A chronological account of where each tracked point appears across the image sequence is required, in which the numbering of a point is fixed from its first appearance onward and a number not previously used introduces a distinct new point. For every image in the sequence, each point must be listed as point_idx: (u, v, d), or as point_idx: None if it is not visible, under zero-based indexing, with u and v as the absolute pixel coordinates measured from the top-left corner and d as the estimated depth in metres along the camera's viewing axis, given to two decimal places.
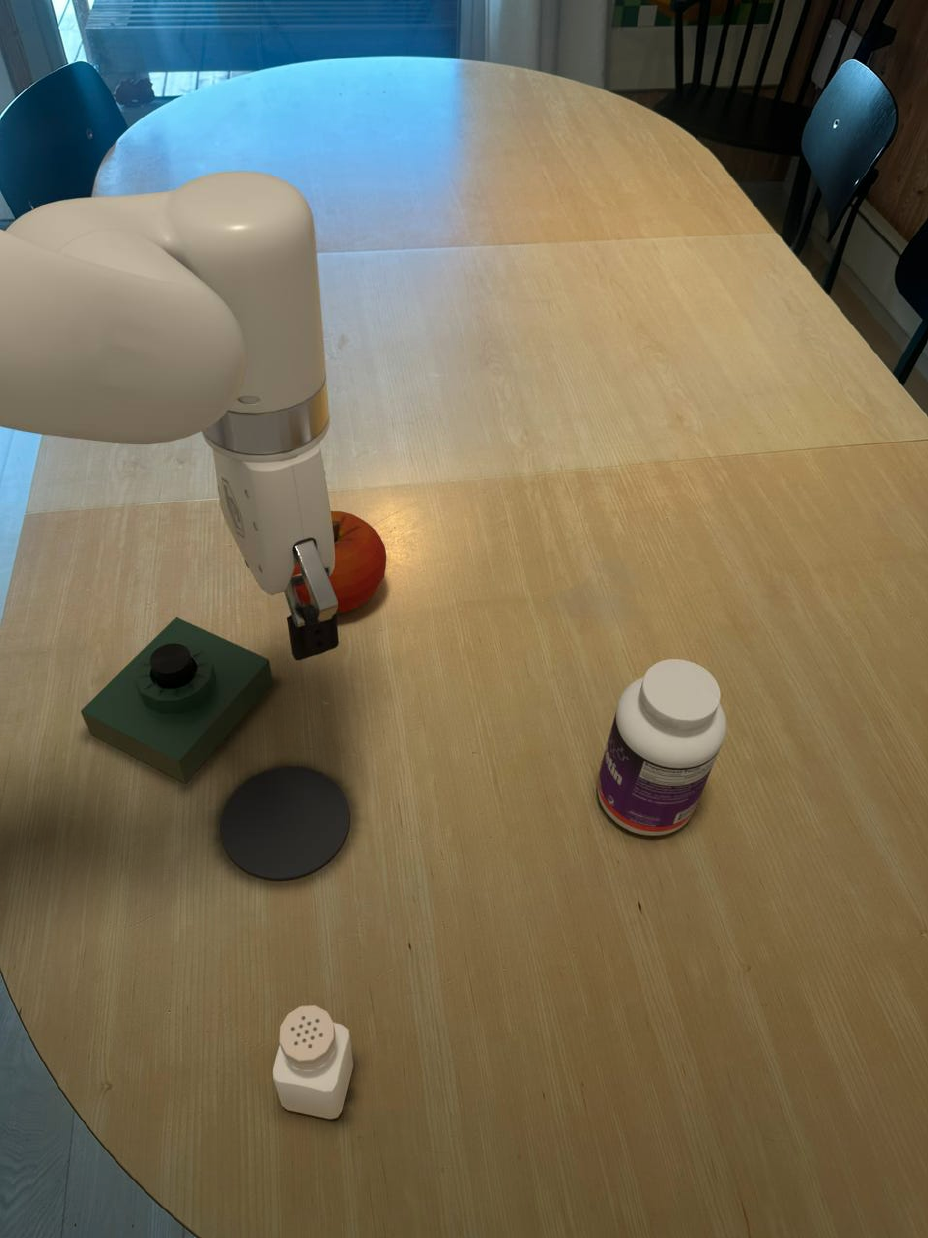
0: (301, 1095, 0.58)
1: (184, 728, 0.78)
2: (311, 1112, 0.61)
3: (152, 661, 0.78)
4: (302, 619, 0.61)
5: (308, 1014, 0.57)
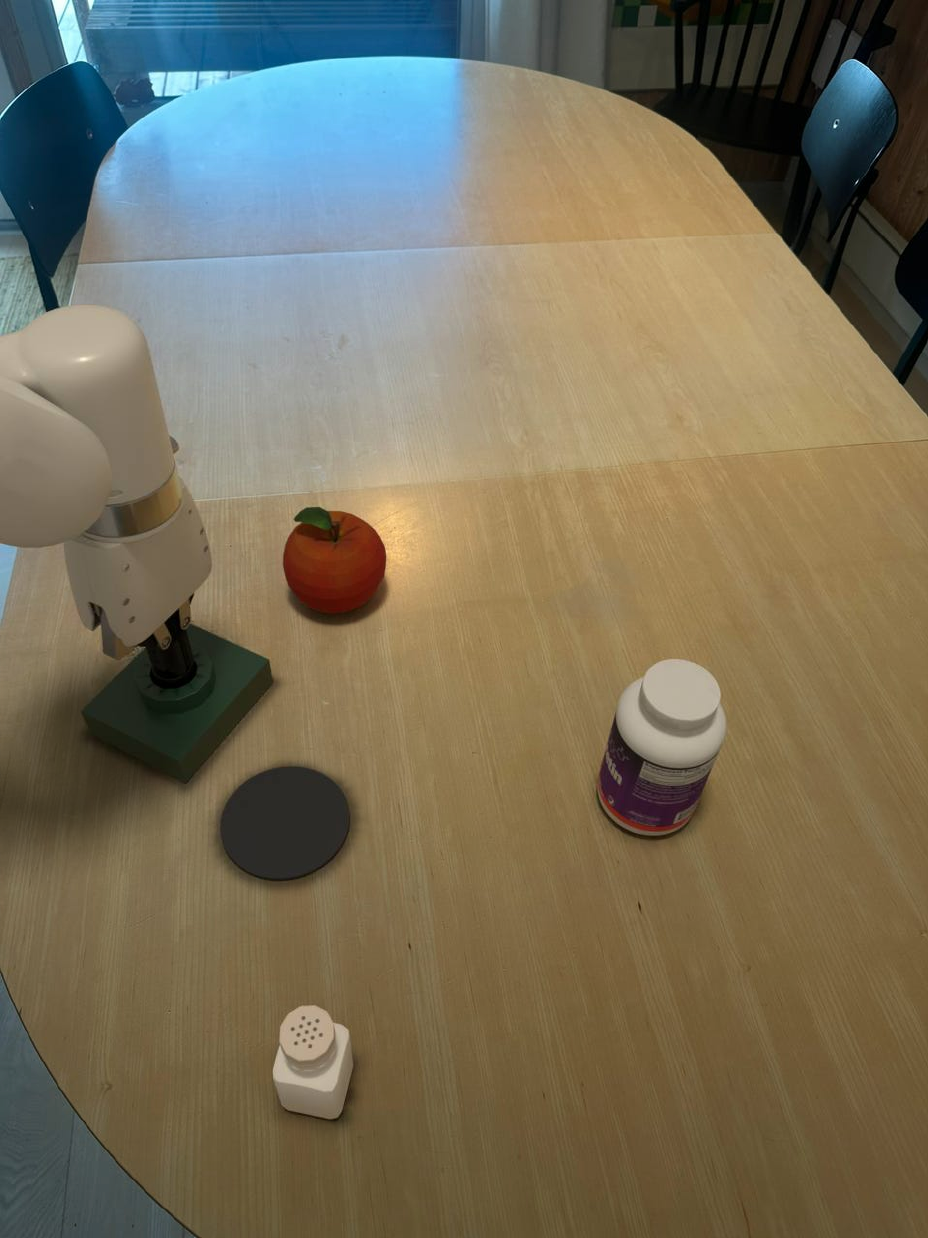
0: (301, 1095, 0.58)
1: (184, 728, 0.78)
2: (311, 1112, 0.61)
3: (154, 668, 0.78)
4: None
5: (308, 1014, 0.57)
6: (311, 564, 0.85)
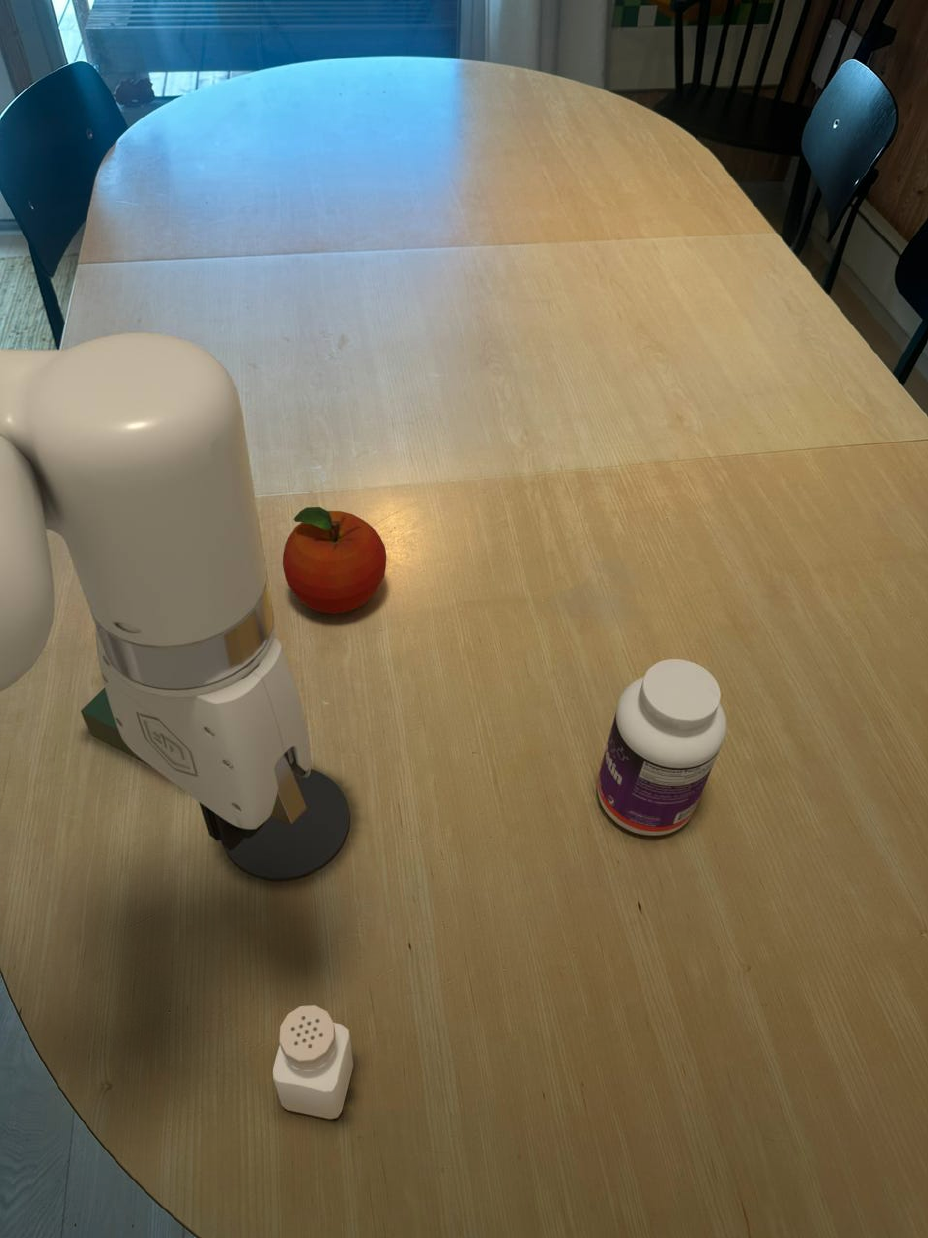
0: (301, 1095, 0.58)
1: None
2: (311, 1112, 0.61)
3: None
4: None
5: (308, 1014, 0.57)
6: (311, 564, 0.85)
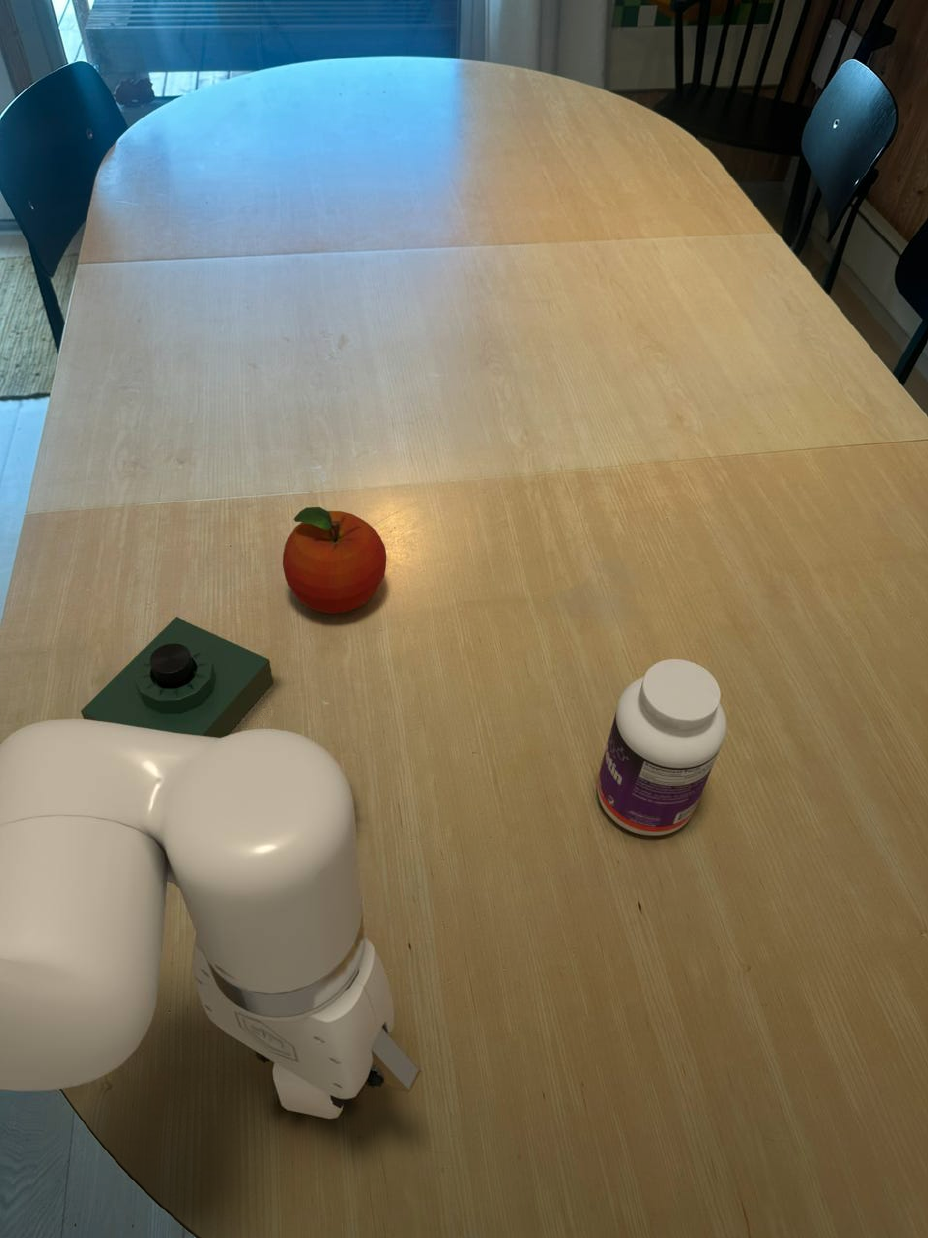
0: (301, 1095, 0.58)
1: (184, 728, 0.78)
2: (311, 1112, 0.61)
3: (152, 661, 0.78)
4: None
5: None
6: (311, 564, 0.85)
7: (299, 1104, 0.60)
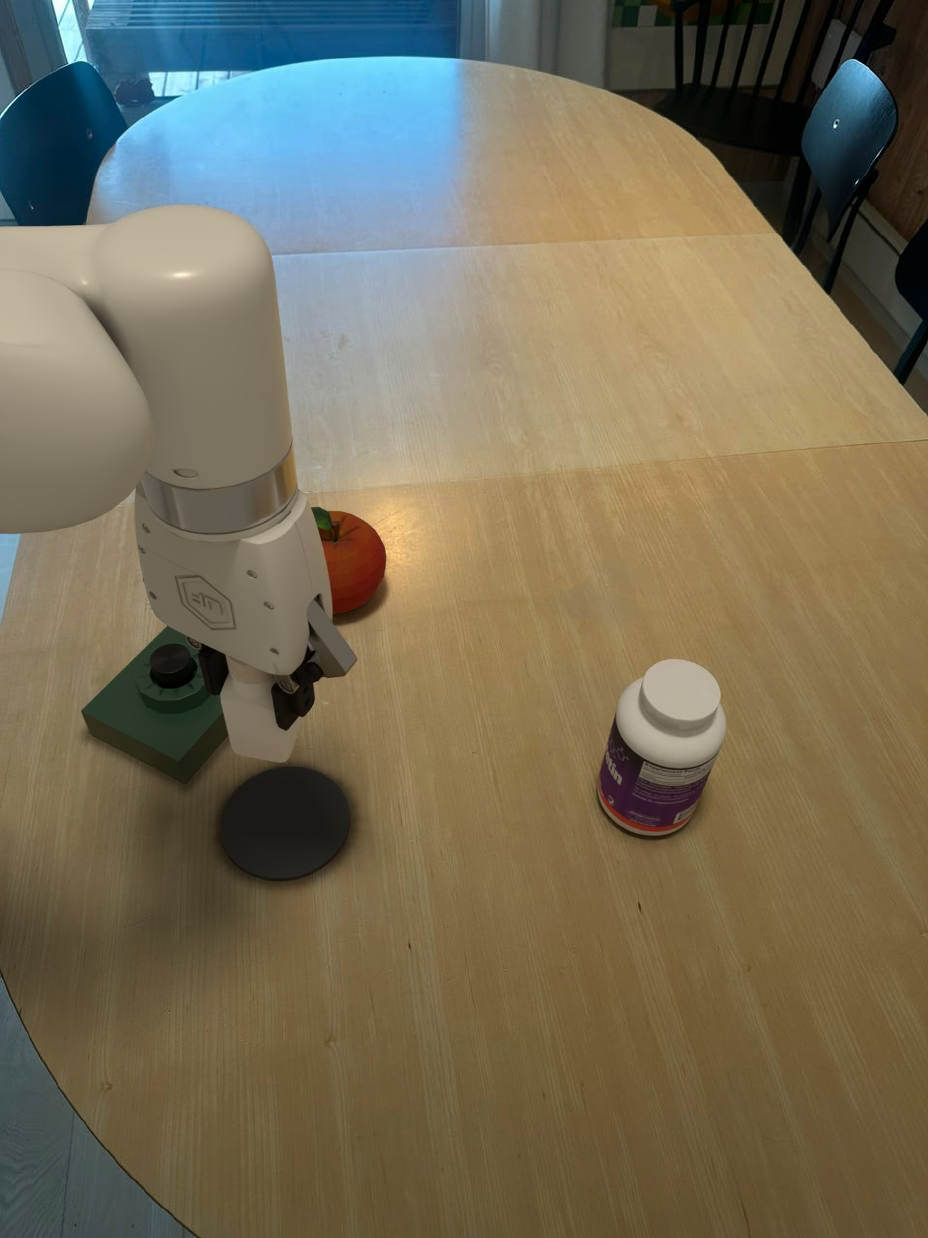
0: (248, 722, 0.60)
1: (184, 728, 0.78)
2: (260, 752, 0.63)
3: (152, 661, 0.78)
4: (296, 682, 0.56)
5: None
6: None
7: (248, 740, 0.62)
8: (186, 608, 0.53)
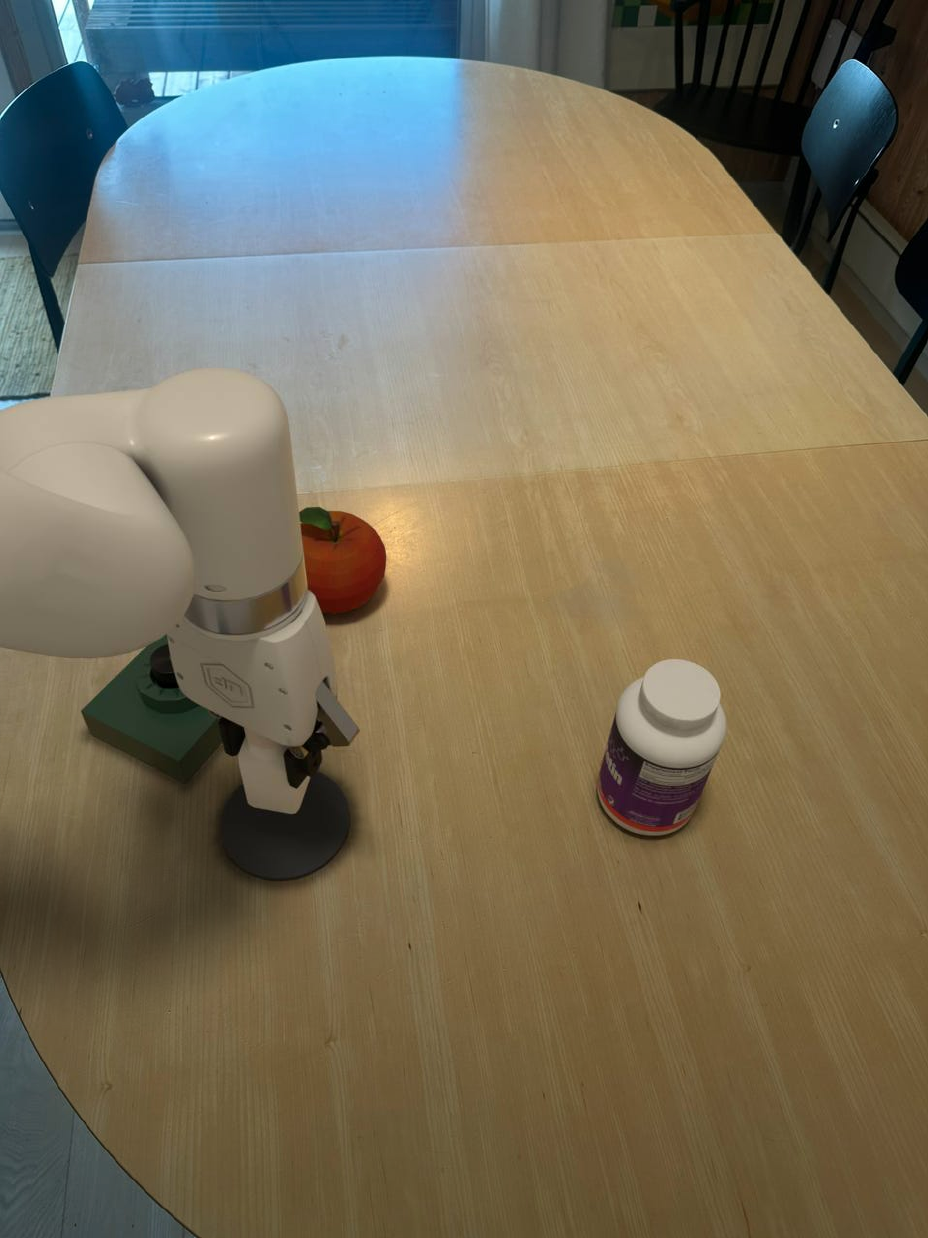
0: (263, 780, 0.68)
1: (184, 728, 0.78)
2: (273, 805, 0.70)
3: (152, 661, 0.78)
4: (306, 749, 0.64)
5: None
6: (311, 564, 0.85)
7: (262, 795, 0.70)
8: (210, 688, 0.61)
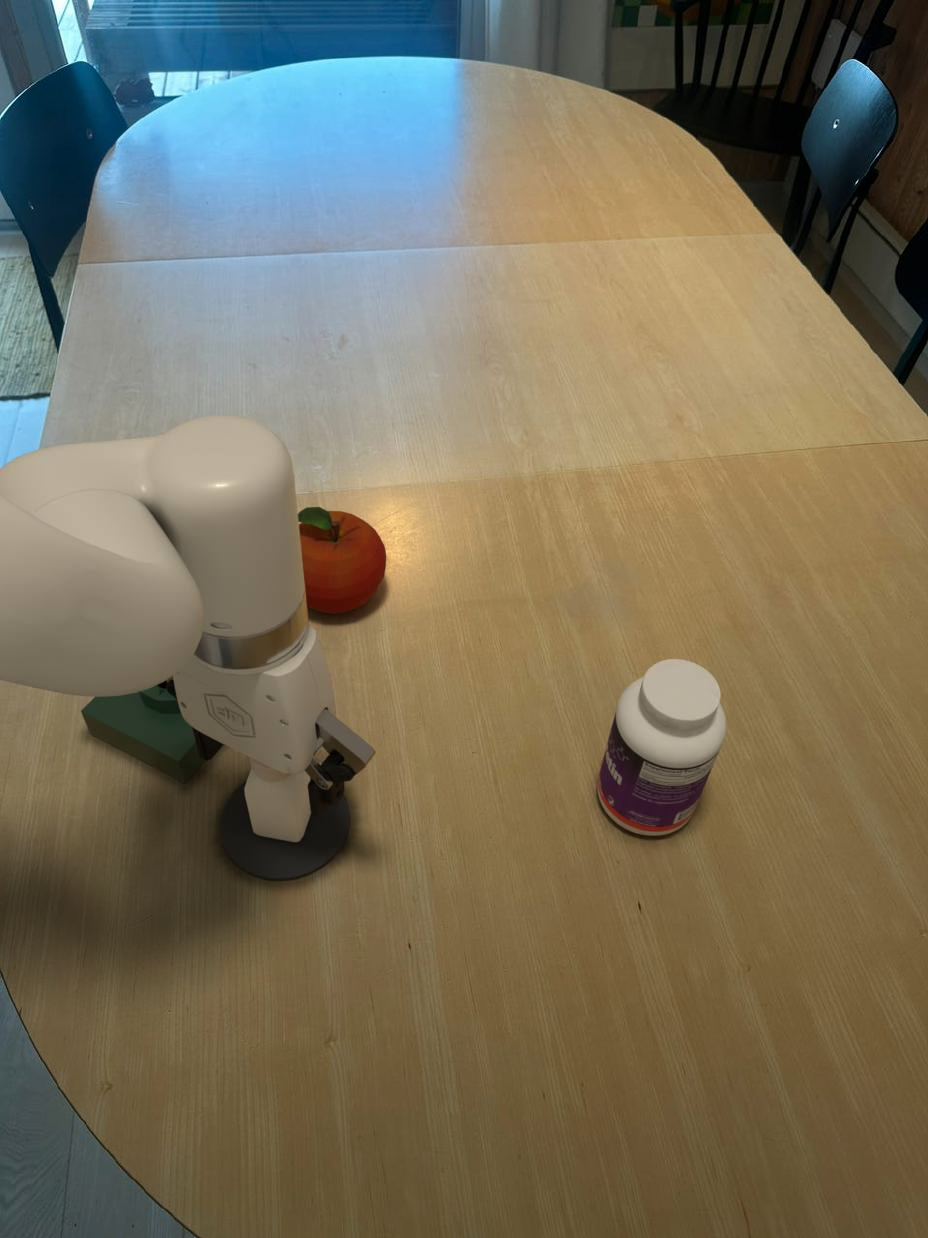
0: (268, 811, 0.71)
1: (184, 728, 0.78)
2: (277, 834, 0.73)
3: None
4: (330, 780, 0.65)
5: None
6: (311, 564, 0.85)
7: (267, 825, 0.73)
8: (212, 718, 0.63)
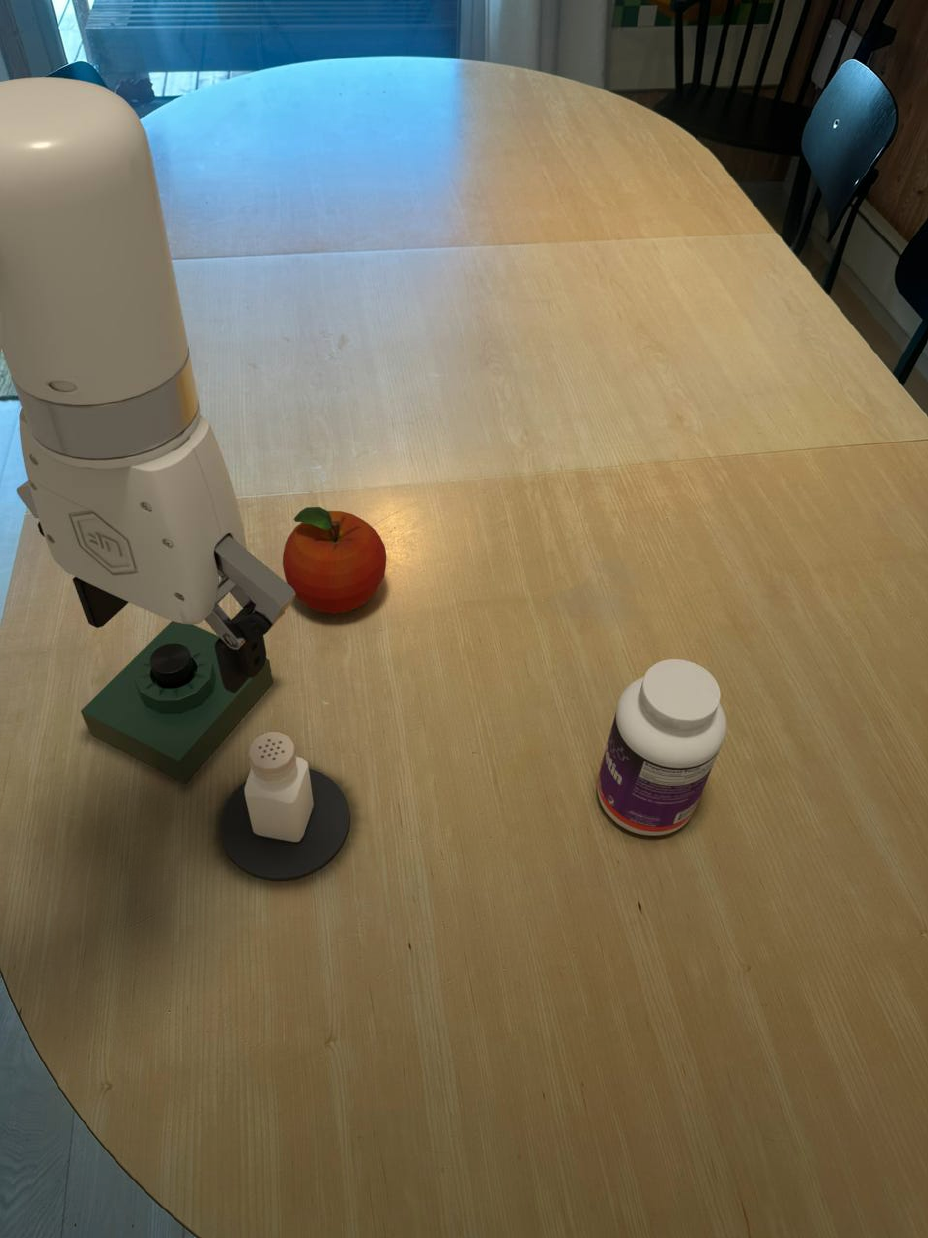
0: (268, 811, 0.71)
1: (184, 728, 0.78)
2: (277, 834, 0.73)
3: (152, 661, 0.78)
4: (241, 636, 0.50)
5: (273, 737, 0.69)
6: (311, 564, 0.85)
7: (267, 825, 0.73)
8: (85, 551, 0.48)
